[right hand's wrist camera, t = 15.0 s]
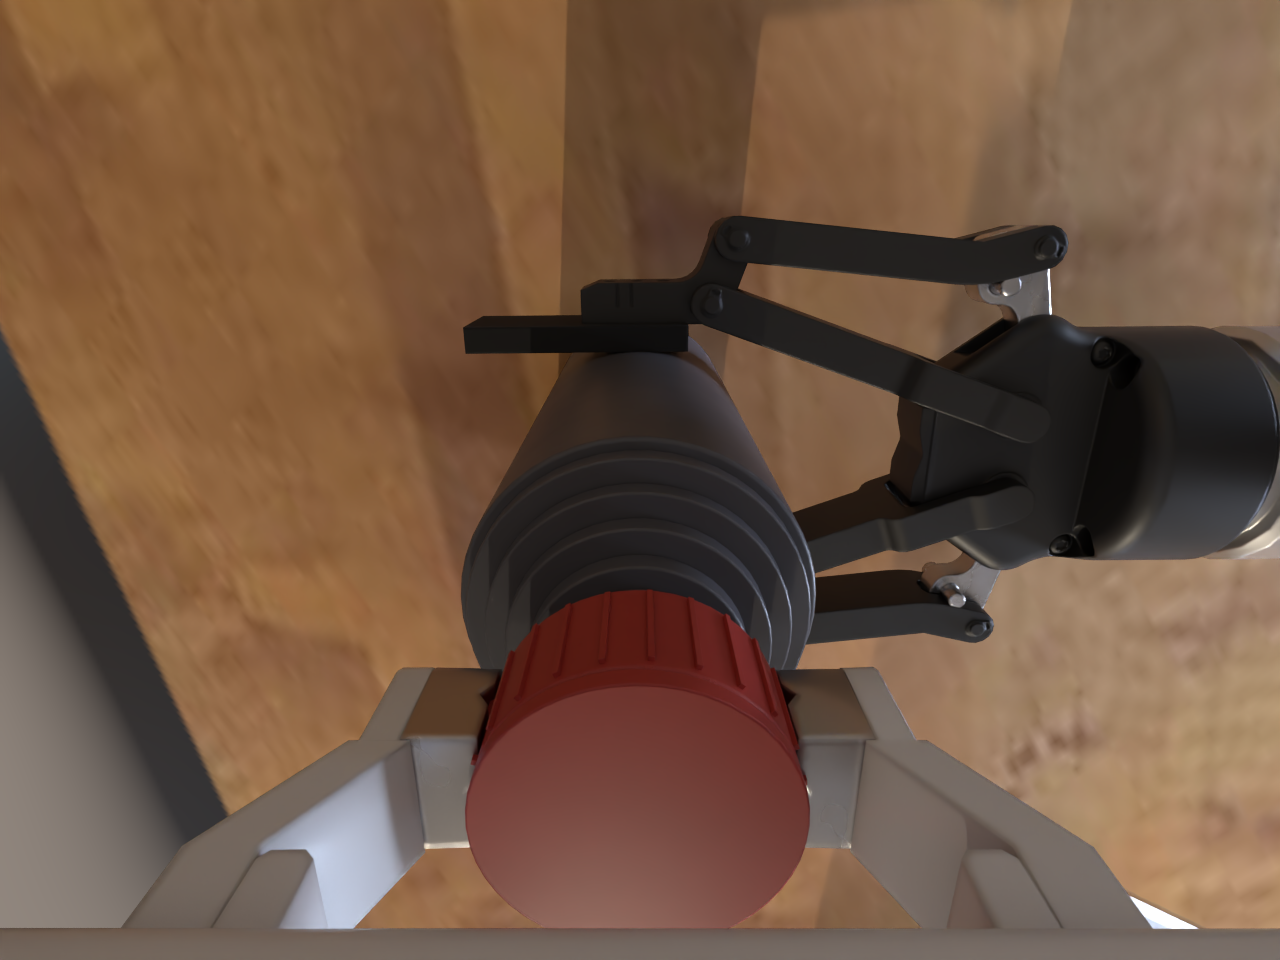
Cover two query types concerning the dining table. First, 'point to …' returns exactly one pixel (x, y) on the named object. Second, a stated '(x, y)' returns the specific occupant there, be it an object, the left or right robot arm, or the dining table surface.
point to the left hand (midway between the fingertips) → (486, 449)
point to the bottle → (639, 509)
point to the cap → (638, 770)
